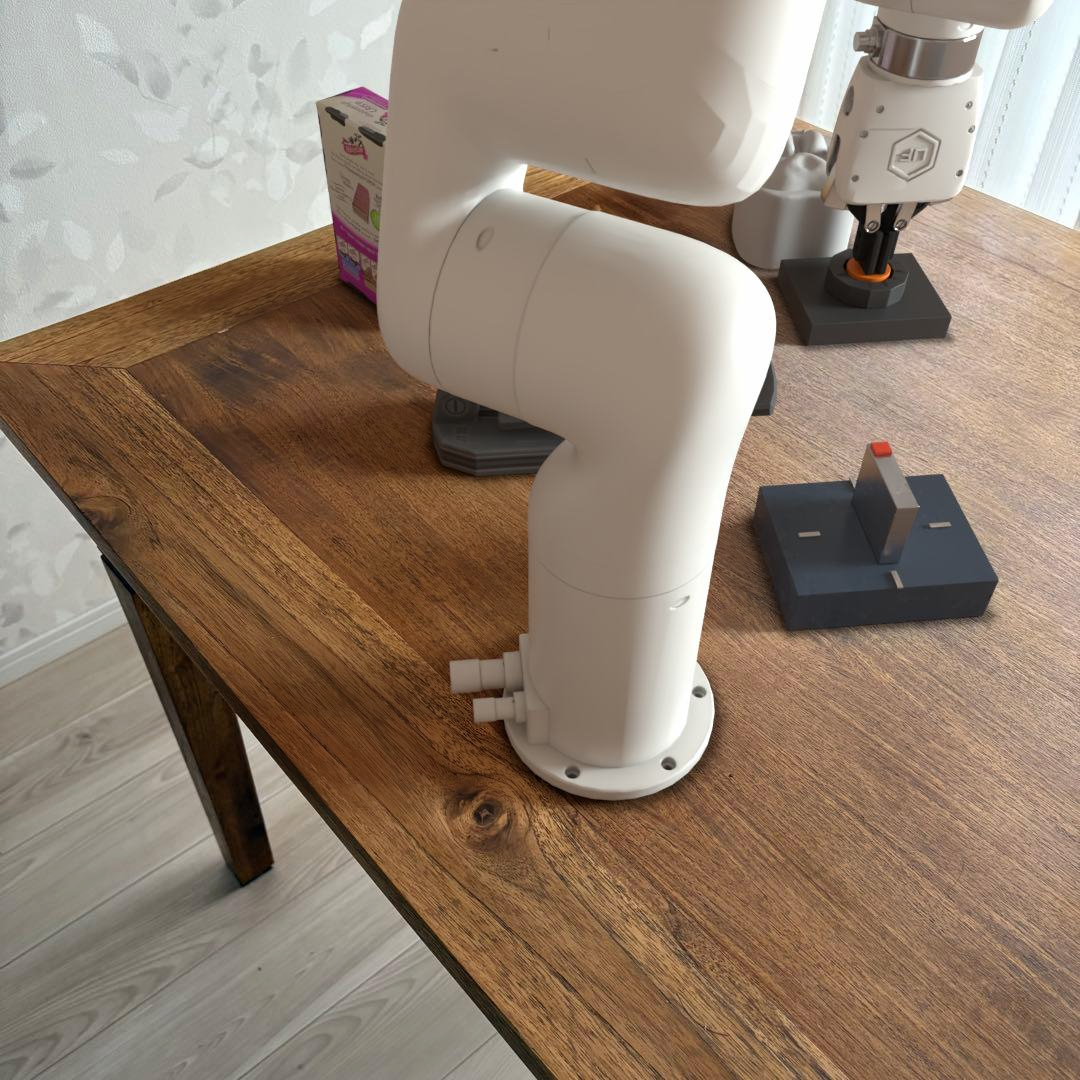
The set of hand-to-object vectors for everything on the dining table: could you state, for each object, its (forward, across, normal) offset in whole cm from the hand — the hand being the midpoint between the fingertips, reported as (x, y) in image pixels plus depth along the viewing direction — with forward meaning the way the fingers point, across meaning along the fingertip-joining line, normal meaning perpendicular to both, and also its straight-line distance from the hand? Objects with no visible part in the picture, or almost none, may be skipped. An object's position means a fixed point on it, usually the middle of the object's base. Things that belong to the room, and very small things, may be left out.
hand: (869, 265), depth 94 cm
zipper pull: (+4, -25, -15) cm, 30 cm away
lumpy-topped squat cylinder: (+4, -3, +13) cm, 14 cm away
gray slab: (+1, -9, -30) cm, 31 cm away
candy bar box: (+4, -40, +6) cm, 41 cm away
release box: (+4, 0, 0) cm, 4 cm away
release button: (+2, 0, 0) cm, 2 cm away
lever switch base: (+4, -9, -30) cm, 32 cm away
